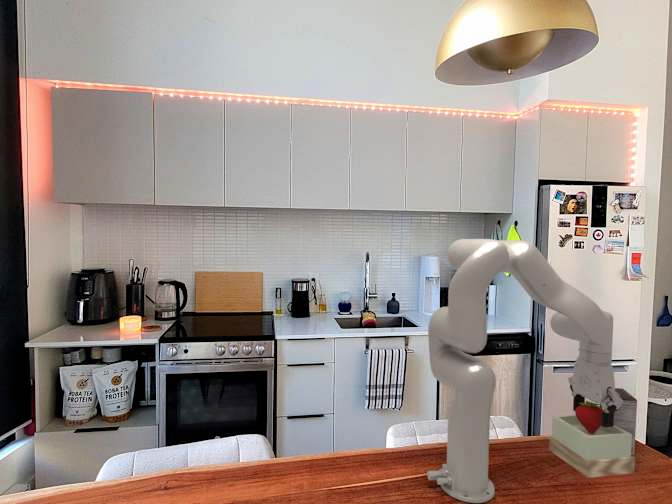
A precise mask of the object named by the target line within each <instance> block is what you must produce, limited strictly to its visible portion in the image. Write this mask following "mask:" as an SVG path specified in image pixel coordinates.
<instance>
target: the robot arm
mask: <svg viewBox="0 0 672 504" xmlns="http://www.w3.org/2000/svg"><path fill="white" fill-rule="evenodd" d="M446 257H447V261H448V264H449V266H451V267H452V268H453V269H454V270H456V272H455V273H454V275H453V276H452V279H451V281H450V282H449V286H448V292H447V294H448V296H447V299H448V301H447V303H448V305H447V306H442V307H440V308H438V309H436V310H435V311H434V312H433V313H432V315H431V317H430V320H429V321H428V328H427V329H428V331H427V333H428V351H429V352H428V354H429V364H430V365H429V366H430V370H431V372H432V376H433V377H434V378H435V379H436V381H438V382H439V383H441V384H442V385H444V386H445V387H448V388H449V389H450V390H452V391H453V392H454V396H453V399H452V400H451V402H450V405H449V407H448V411H447V412H448V413H447V415H448V416H447V442H446V443H447V445H446V463H442V468H439V470H428V471H427V473H426V474H427V475H426V476H427V479H428V481H434V480H436V483H437V485H440V487H441V489H442V490H443V491H444V493H446V494H447V495H449V496H450V497H451V498H454V499H456V500H458V501H461V502H465V503H471V504H482V503H486V502H488V501H490V500H492V499H493V498H494V497H495V491H496V490H495V485H494V483H493V482H492V480H491V479H490V478H489V452H490V451H489V450H490V449H489V448H490V425H491V424H490V422H491V410H492V409H491V408H492V402H493V398H494V394H495V389H496V385H497V378H496V375H495V372H494V369H492V367H491V366H490V365H489V364H488V363H487V362H485V361H484V360H481V358H478V357H476V356H473V355H472V354H477V353H480V352H481V351H483V349H484V348H486V347H485V346H486V345H487V341H488V323H487V302H486V301H487V292H488V289H489V287H490V284H491V283H492V281H493V280H494V279H495V278H496V277H497V275H499V273H507V274H511V276H513V277H514V279H515V280H516V281H517V282H518V283H519V285H520V286H521V287H522V288H523V289H524V291H525V292H526V293H527V295H528V296H529V297H530V298H531V299H532V300H533V301H534V302H536V303H538V304H539V305H541V306H543V307H545V308H547V309H550V310H552V311H555V313H554V314H553V315H551V318H550V320H549V321H550V322H549V323H550V328H551V330H552V331H553V332H554V333H555V334H556V335H558V336H560V337H563V338H566V339H570V340H573V341H578V342H579V344H578V345H579V347H578V357H576V360H575V362H574V367H573V373H572V376H571V377H568V378H567V380H568V384H569V389H570V391H571V396H572V397H573V404H572V406H573V407H572V408H573V409H572V411H574V412H575V410H576V408H577V407H578V406H580V405H582V404H579V403H586V399H588V400H590V401H591V402H593V403H596V404H601V406H602V408H603V410H604V411H603V412H602V419H601V426H602V427H613V426H614V413H616V412H617V411H618V410H619V409H620V407H621V405H622V404H623V400H622V399H621V398H620V397H619V396H618V395H617V394H616V392H615V388H616V383H615V382H616V381H615V372H614V367H613V366H614V365H613V364H612V361H613V341H614V340H613V339H614V338H613V337H614V336H613V335H614V316H613V314H612V313H610V312H607V311H603V310H602V309H601V307H599V305H598V304H597V303H596V302H595V301H594V300H593V299H591V298H590V297H589V296H587V295H586V294H584V293H583V292H581V291H579V290H578V289H577V288H575V287H574V286H572V285H571V284H570V283H568V282H566V281H565V280H563V279H562V278H561V277H560V276H559V274H558V273H557V271H555V270H554V267H552V265H551V264H550V263H549V261H548V260H547V258H545V256H544V255H543V253H541V251H540V250H539V249H538V247H537V246H536V245H535V244H533V243H532V242H530V241H527V240H518V239H516V240H515V239H513V240H512V239H510V240H509V239H504V240H503V239H497V240H496V239H493V238H459V239H457V240H454V242H452V243H451V244H450V246H449V247H448V250H447V253H446ZM613 401H614V403H613ZM606 403H608V405H609V407H607V405H606Z"/></svg>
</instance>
